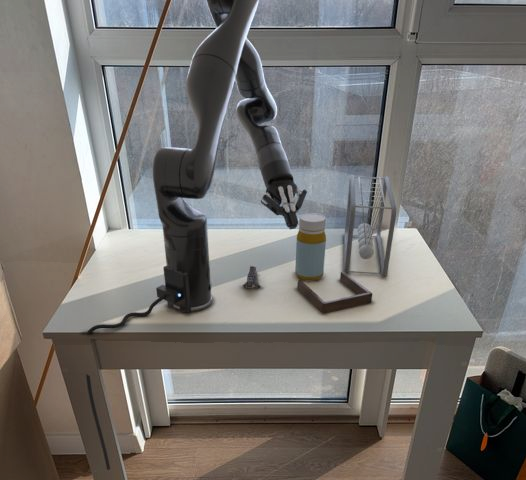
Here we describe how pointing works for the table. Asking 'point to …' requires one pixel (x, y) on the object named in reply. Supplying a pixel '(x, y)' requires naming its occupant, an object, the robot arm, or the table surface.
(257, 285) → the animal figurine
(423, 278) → the table surface
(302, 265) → the bottle
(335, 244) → the table surface
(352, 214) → the newton's cradle
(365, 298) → the bay
